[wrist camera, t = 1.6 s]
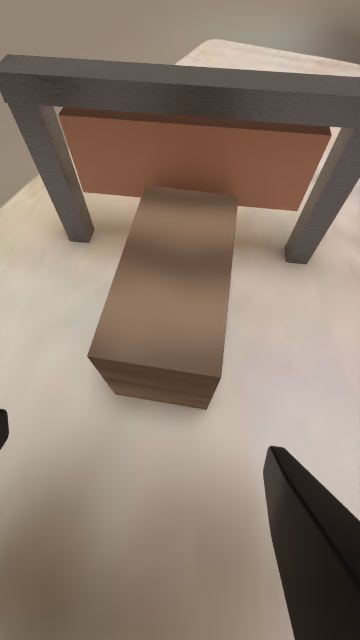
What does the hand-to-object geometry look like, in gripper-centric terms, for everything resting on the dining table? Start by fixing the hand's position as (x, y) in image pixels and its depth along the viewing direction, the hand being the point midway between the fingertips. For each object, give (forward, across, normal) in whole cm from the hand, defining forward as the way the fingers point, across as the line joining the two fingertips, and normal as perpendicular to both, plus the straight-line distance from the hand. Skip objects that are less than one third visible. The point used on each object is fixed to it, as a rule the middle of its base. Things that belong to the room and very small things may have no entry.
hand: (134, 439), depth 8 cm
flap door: (+19, 0, -9) cm, 21 cm away
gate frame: (+23, 0, -5) cm, 24 cm away
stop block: (+17, 0, +1) cm, 17 cm away
